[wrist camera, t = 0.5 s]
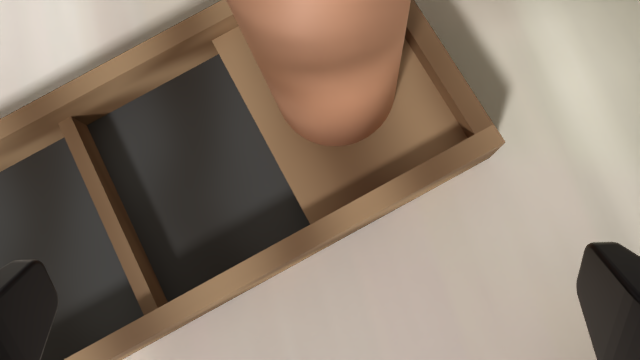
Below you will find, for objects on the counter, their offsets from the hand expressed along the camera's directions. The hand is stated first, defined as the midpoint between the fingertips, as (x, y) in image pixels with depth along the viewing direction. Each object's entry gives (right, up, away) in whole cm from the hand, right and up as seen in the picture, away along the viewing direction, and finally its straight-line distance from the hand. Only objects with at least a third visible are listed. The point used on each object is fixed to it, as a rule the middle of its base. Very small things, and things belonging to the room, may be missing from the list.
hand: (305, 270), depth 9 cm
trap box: (-8, 0, +14) cm, 16 cm away
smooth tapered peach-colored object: (+1, +5, +13) cm, 14 cm away
